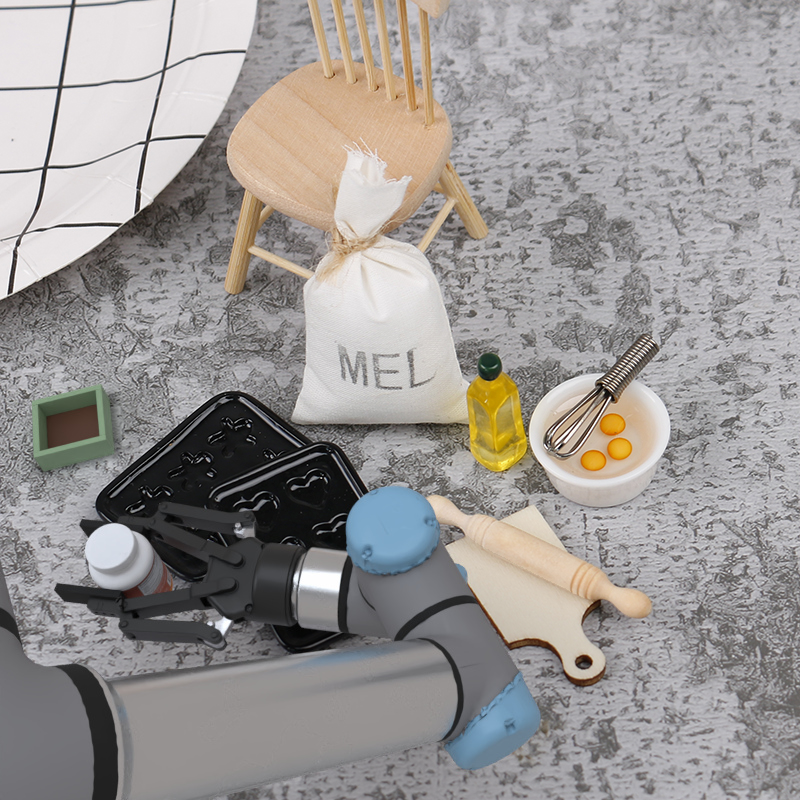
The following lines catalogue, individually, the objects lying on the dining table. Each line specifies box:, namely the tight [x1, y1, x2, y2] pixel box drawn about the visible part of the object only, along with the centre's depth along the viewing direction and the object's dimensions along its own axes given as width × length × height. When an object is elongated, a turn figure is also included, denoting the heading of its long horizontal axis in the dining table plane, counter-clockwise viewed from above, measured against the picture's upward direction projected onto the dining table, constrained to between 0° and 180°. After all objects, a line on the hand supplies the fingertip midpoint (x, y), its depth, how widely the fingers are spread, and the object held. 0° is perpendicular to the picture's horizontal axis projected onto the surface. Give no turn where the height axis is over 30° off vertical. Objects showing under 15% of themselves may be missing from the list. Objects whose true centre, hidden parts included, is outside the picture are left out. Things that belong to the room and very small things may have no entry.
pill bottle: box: [84, 522, 174, 599], centre depth 92 cm, size 6×6×11 cm
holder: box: [31, 383, 115, 472], centre depth 122 cm, size 9×9×4 cm
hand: (73, 559), depth 92 cm, fingers closed on pill bottle, 6 cm apart
